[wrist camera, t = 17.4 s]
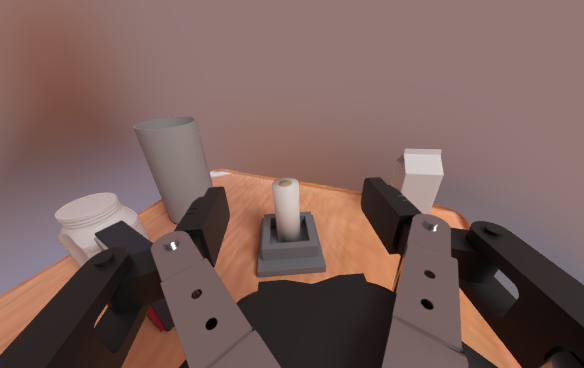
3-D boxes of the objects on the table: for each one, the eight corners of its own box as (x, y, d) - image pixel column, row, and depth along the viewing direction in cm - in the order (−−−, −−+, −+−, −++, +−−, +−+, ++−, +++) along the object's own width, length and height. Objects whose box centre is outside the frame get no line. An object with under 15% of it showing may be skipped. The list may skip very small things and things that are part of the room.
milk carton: (423, 231, 49) (450, 156, 39) (391, 229, 50) (410, 155, 40) (412, 213, 55) (434, 144, 45) (384, 211, 56) (399, 143, 47)
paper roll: (278, 248, 43) (271, 190, 37) (278, 232, 48) (272, 178, 41) (301, 246, 44) (299, 188, 37) (299, 230, 48) (297, 176, 41)
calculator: (130, 299, 36) (86, 235, 29) (155, 281, 39) (121, 219, 32) (163, 337, 31) (119, 270, 24) (189, 312, 34) (157, 246, 27)
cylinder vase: (182, 200, 64) (153, 118, 52) (222, 198, 64) (203, 115, 52) (161, 227, 53) (119, 130, 41) (210, 225, 53) (182, 127, 41)
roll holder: (258, 277, 39) (255, 261, 37) (262, 223, 53) (260, 208, 51) (325, 271, 40) (326, 255, 38) (312, 219, 54) (312, 205, 52)
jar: (163, 252, 45) (136, 195, 38) (120, 291, 38) (75, 228, 30) (127, 241, 49) (96, 187, 42) (79, 275, 41) (31, 215, 34)
